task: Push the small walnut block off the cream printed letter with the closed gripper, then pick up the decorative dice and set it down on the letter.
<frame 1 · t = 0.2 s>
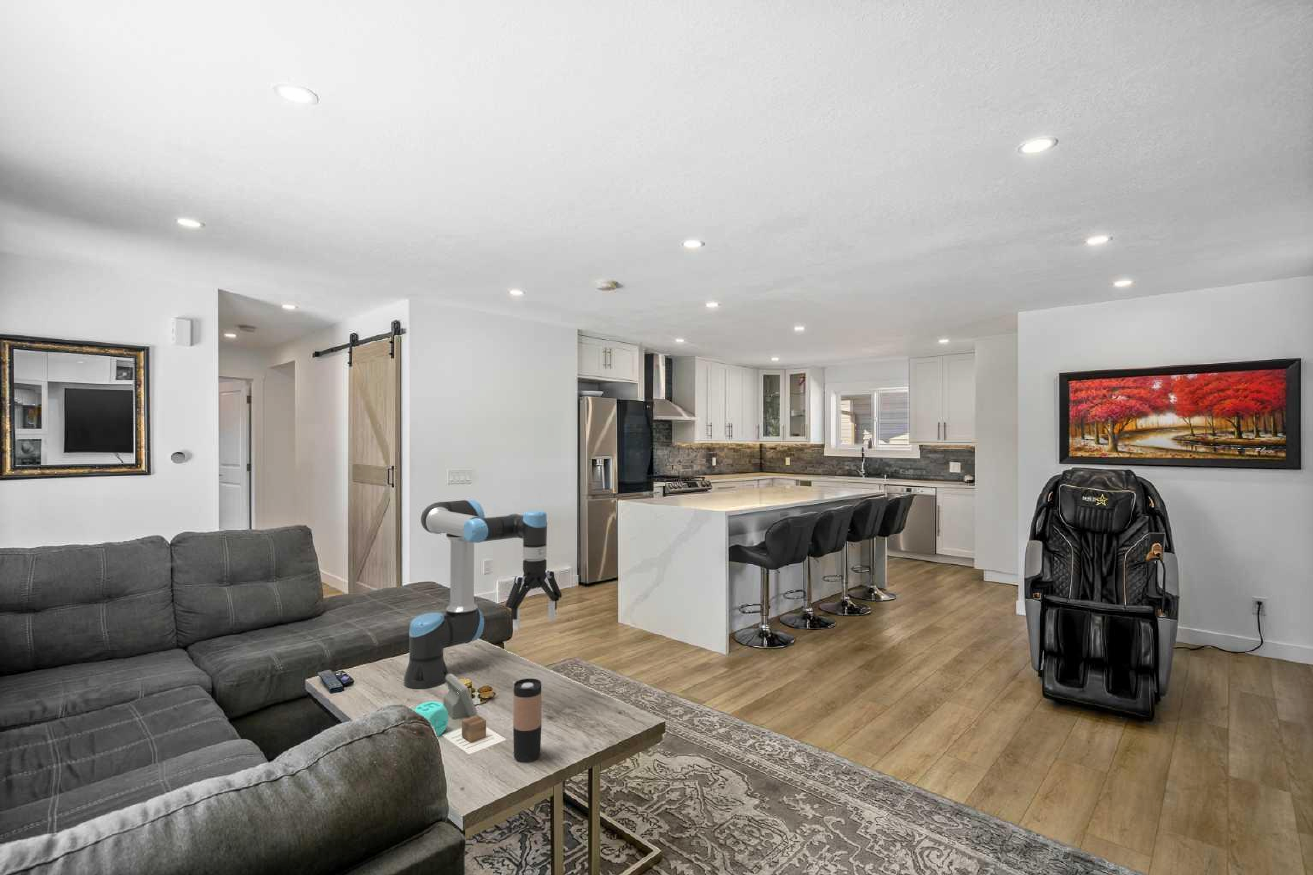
hand: (534, 624, 199), 28 cm above the table, fingers open, 13 cm apart
letter: (473, 737, 180), on the table
decorative dice: (428, 734, 183), on the table
walnut block: (473, 737, 180), resting on letter
travel mug: (527, 756, 170), on the table
grey angular piece: (460, 712, 198), on the table
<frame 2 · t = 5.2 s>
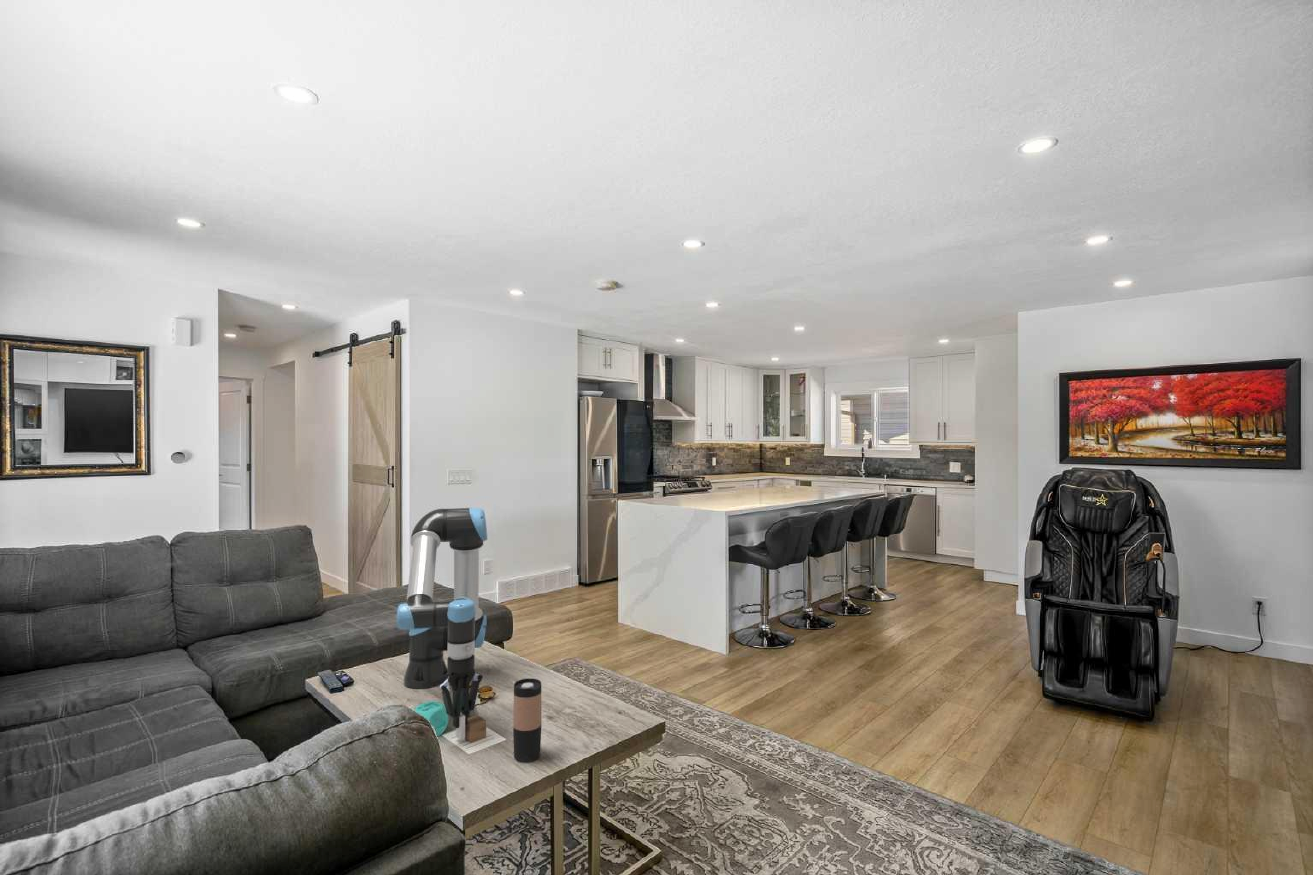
hand: (460, 737, 177), 2 cm above the table, fingers closed
walnut block: (473, 737, 180), resting on letter, touching gripper
everything else where it was.
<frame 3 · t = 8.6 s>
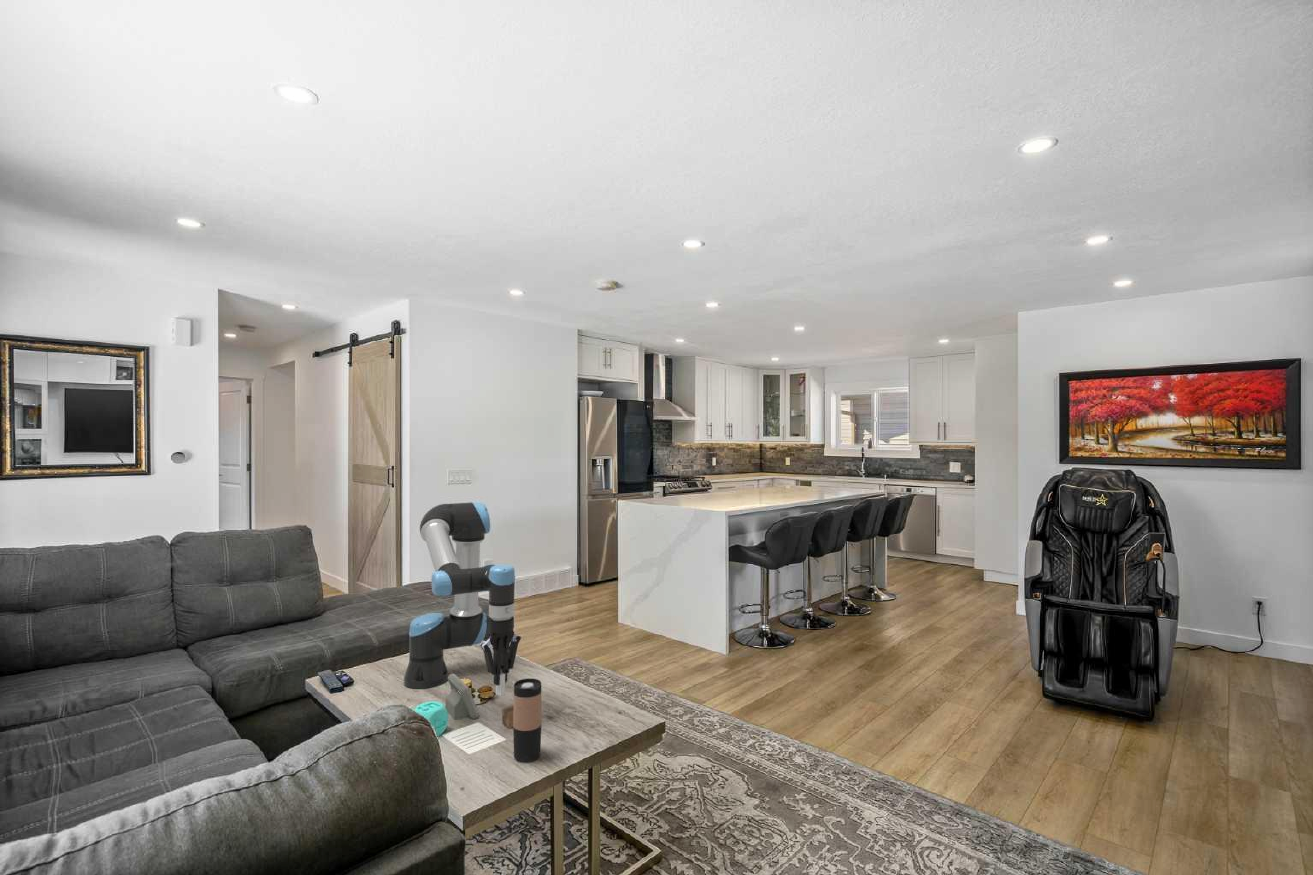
hand: (500, 694, 187), 10 cm above the table, fingers closed
walnut block: (512, 724, 189), on the table
everything else where it was.
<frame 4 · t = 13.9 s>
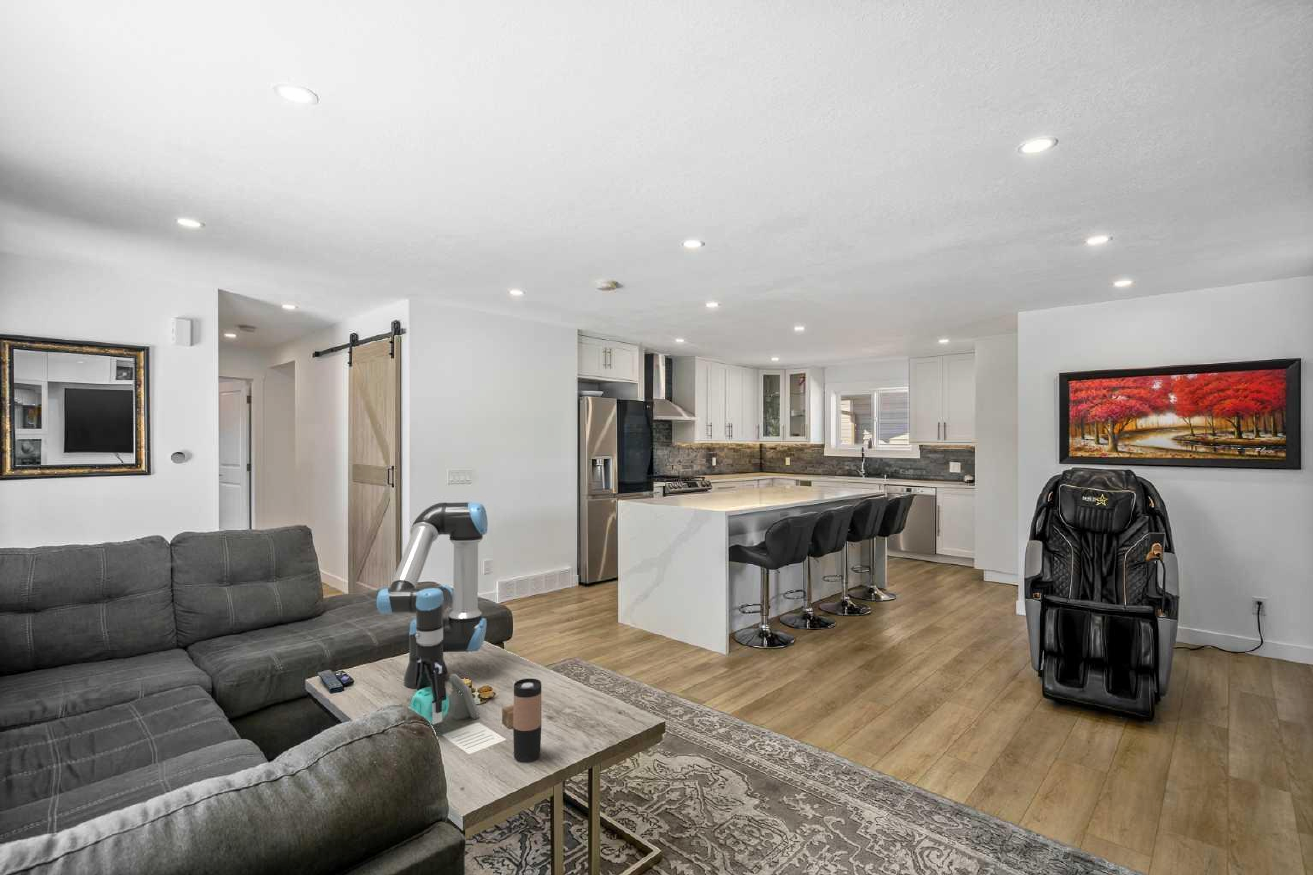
hand: (429, 717, 184), 5 cm above the table, fingers closed on decorative dice, 9 cm apart
decorative dice: (429, 718, 184), point 4 cm above the table, touching gripper
when the fingers open (1 cm above the table, at t = 19.0 s): decorative dice stays where it is, resting on letter.
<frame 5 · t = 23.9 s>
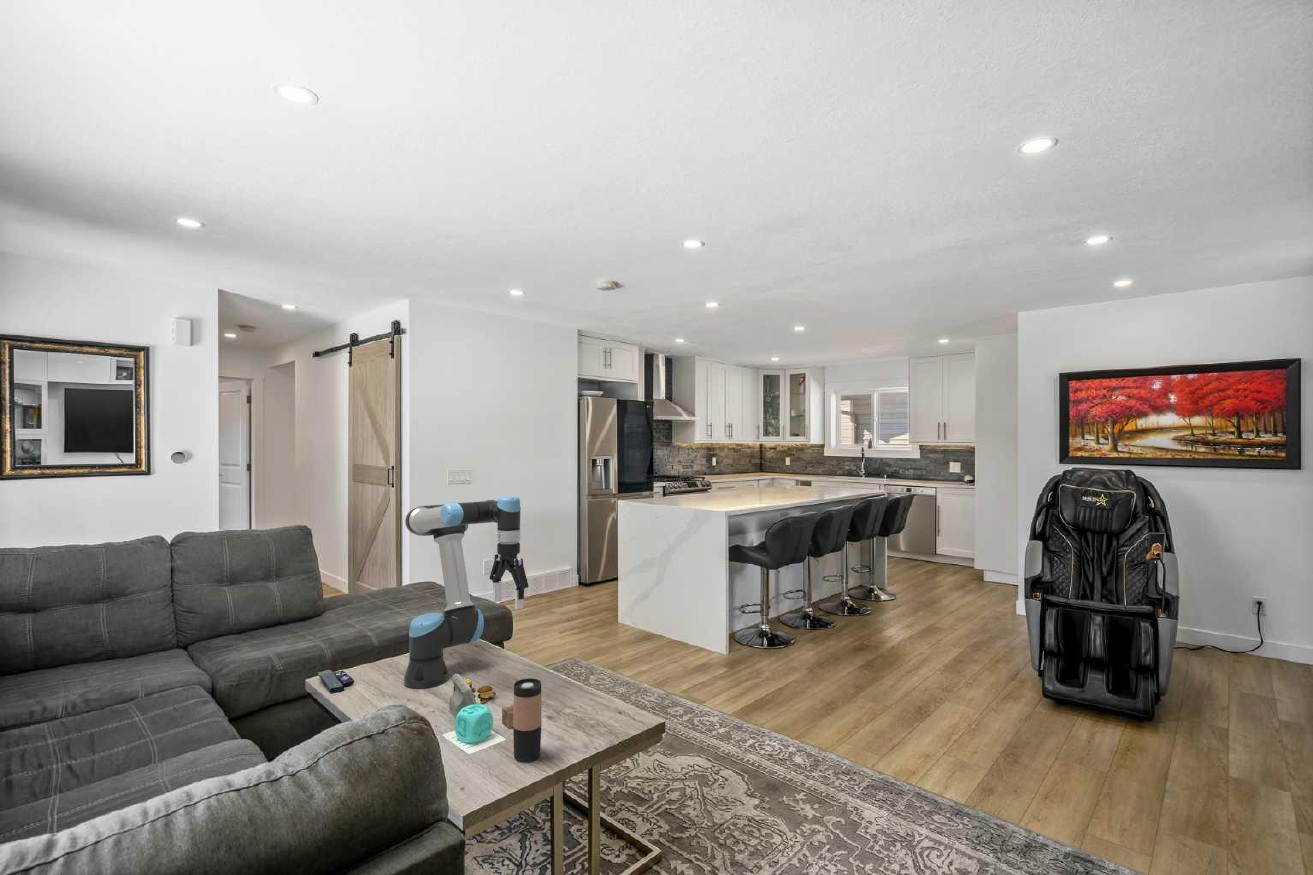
hand: (508, 605, 208), 32 cm above the table, fingers open, 13 cm apart
decorative dice: (473, 737, 180), resting on letter
at the end: decorative dice inside the target area on the letter (0.0 cm from its centre), point 0.0 cm above the letter's base; decorative dice tilted 0°; walnut block inside the target area (11.3 cm from its centre), on the table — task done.
